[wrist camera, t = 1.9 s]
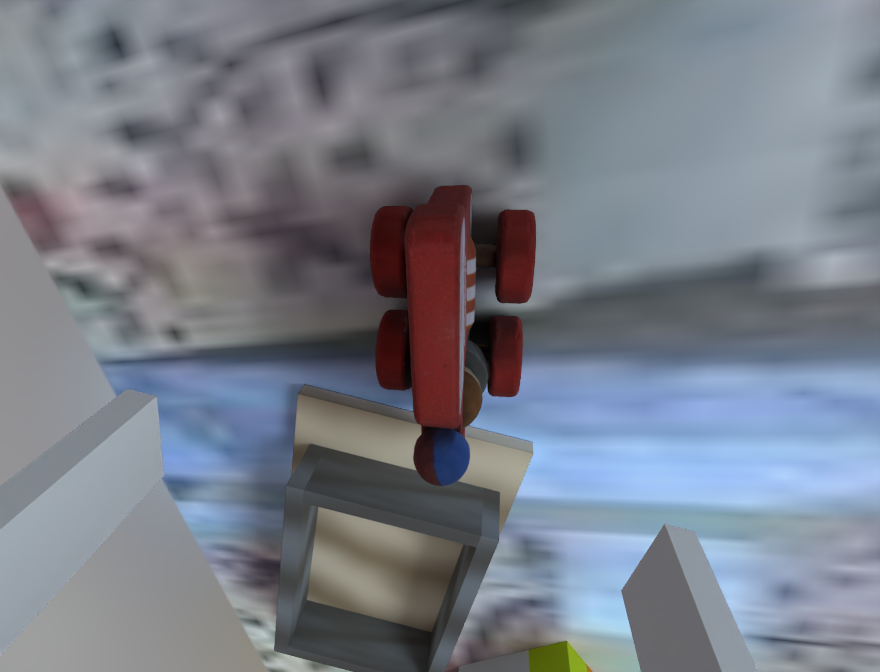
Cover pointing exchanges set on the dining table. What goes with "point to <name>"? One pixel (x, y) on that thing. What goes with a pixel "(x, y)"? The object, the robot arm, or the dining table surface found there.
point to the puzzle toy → (533, 661)
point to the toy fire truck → (448, 318)
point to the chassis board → (384, 537)
